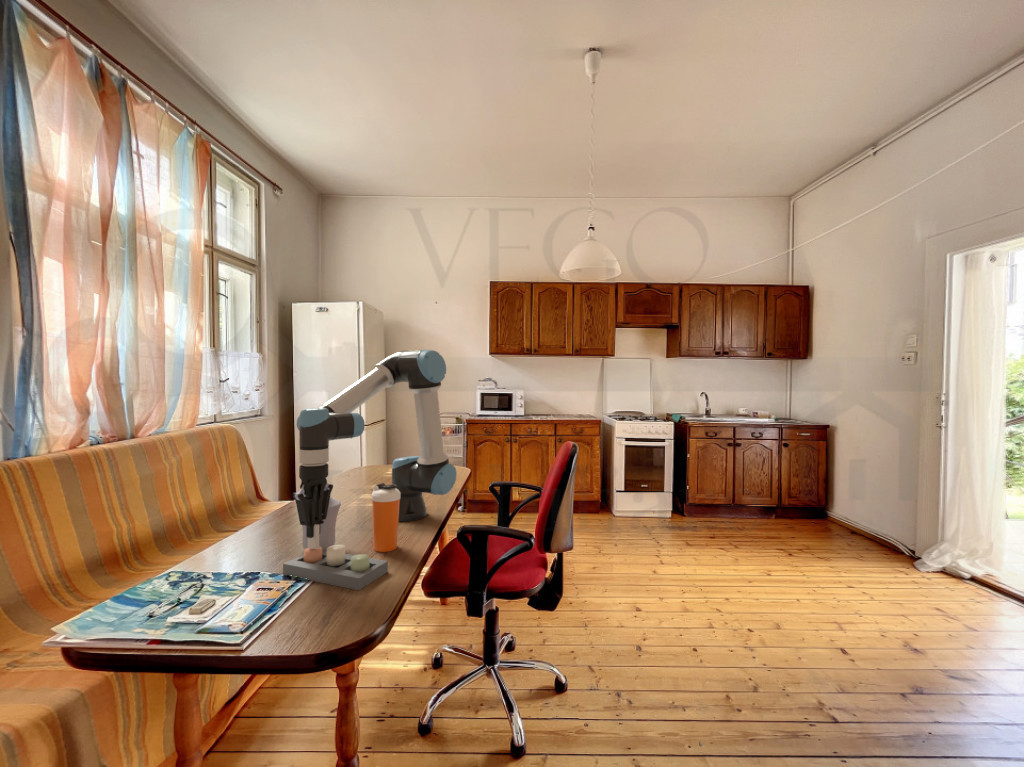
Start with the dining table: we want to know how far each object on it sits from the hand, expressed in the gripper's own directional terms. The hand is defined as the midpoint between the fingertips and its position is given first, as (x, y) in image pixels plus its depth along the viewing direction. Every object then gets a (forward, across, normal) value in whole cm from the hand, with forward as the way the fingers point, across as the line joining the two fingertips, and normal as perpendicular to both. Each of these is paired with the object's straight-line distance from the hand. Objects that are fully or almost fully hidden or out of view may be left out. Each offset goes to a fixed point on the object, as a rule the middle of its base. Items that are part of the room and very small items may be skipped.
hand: (313, 547), depth 127 cm
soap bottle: (+6, -13, -10) cm, 17 cm away
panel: (+6, 0, +8) cm, 10 cm away
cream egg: (+3, 0, +8) cm, 9 cm away
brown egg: (+4, 0, 0) cm, 4 cm away
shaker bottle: (+6, -21, +9) cm, 24 cm away
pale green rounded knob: (+4, 0, +16) cm, 17 cm away
